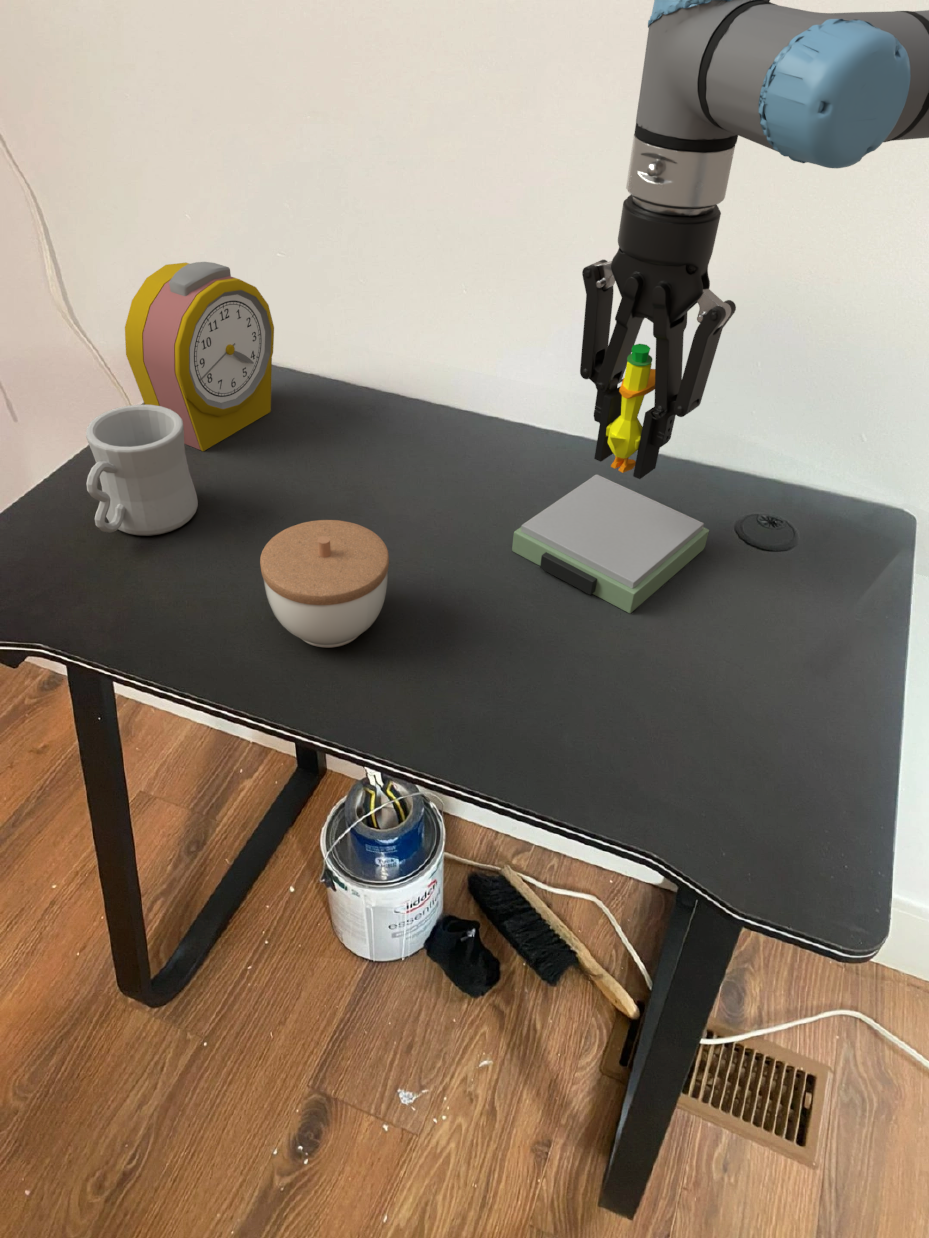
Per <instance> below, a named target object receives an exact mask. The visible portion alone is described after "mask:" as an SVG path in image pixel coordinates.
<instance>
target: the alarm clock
mask: <svg viewBox="0 0 929 1238" xmlns="http://www.w3.org/2000/svg"><path fill="white" fill-rule="evenodd" d="M269 305H270V304H269V303H268V302H267V301H266V299H265V297H264V296H263V295H262V294H261V292H260V290H258V288H257V287H256V286H255V285H253V284H251V283H248V282H246V281H244V280H242V279H240V278H237V277H234V276H232V274H231V268H230V267H229V266H226V265H223V264H219V263H216V262H212V261H211V262H210V261H196V262H191V263H189V262H179V263H169V264H165V265H163V266H161V267H160V268H158V269H157V270H156V271H155V272H153V273H151V274H150V275H148V276H147V277H146V278H145V279H144V281H143V283H142V284H141V286H140V287H139V289H138V290H137V292H136V293H135V295H134V296H133V298H132V299H131V303H130V306H129V309H128V314H127V317H126V320H125V321H126V322H125V325H124V339H125V357H126V359H127V361H128V364H129V366H130V369H131V372H132V375H133V377H134V380H135V383H136V385H137V388H138V390H139V393H140V396H141V398H142V400H143V403H144V404H143V405H155V406H162V407H165V408H168V409H170V410H172V411H174V412H175V413H177V414H178V415H179V416H180V418H181V419H182V421H183V427H184V445H186V446H189V447H192V448H194V449H195V450H196V449H197V450H199V451H201V452H205V451H206V450H208V449H210V448H211V447H213V446H215V445H216V444H218V443H220V442H222V441H223V440H225V439H227V438H228V437H230V436H232V435H234V434H236V433H238V432H239V431H240V430H242V429H244V428H246V427H247V426H249V425H251V424H253V423H254V422H256V421H257V420H259V419H261V418H263V417H264V416H266V415H268V414H270V413H271V412H272V375H273V374H272V371H273V369H272V368H273V367H272V366H273V365H272V364H273V354H274V346H275V345H274V340H275V325H274V322H273V317H272V313H271V309H270V306H269Z"/></svg>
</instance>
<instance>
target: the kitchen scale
mask: <svg viewBox="0 0 929 1238" xmlns="http://www.w3.org/2000/svg"><path fill="white" fill-rule="evenodd" d="M704 526H705V522H702V521H700V520H698V519H696V518H694V517H691V516H689V515H687V514H685V513H682V512H681V511H678V510H676V509H674V508H671V507H670V506H667V505H665V504H663V503H661V502H658V501H657V500H655V499H652V498H649V497H647V496H645V495H643V494H641V493H639V492H636V491H634V490H633V489H630V488H628V487H626V486H624V485H621V484H619V483H617V482H615V481H612V480H610V479H608V478H607V477H603V476H601V475H600V474H595V475H593V476H592V477H590V478H588V479H587V480H586V481H585V482H582V483H581V484H580V485H578V486H577V487H576V488H574V489H572V490H571V491H570V492H568V493H567V494H565V495H564V496H562V497H560V498H559V499H557V500H556V501H554V502H553V503H552V504H550V505H549V506H548V507H546V508H544V509H543V510H541V511H539V513H537V514H536V515H534V516H533V517H531V518H530V519H529V520H527V521H526V522H524V523H522V524H521V526H520V527H519V528H517V529H516V530H515V531H514V532H513V536H512V537H513V538H512V548H511V552H512V553H515V554H517V555H518V556H520V557H522V558H525V559H526V560H527V561H530V562H532V563H534V564H535V565H537V566H539V568H540V570H542V571H545V572H547V573H549V574H550V575H552V576H554V577H556V578H558V579H560V580H561V581H563V582H565V583H567V584H569V585H571V586H572V587H574V588H577V589H579V590H580V591H582V592H584V593H586V594H588V595H590V596H592V595H594V596H596V597H597V598H599V599H601V600H604V601H606V602H607V603H609V604H611V605H613V606H615V607H617V608H619V609H620V610H622V611H624V612H626V613H628V614H632V613H633V612H634V611H635V610H636V609H638V607H640V606H641V605H642V604H643V603H644V602H645V601H646V600H648V599H649V598H650V597H651V596H652V595H654V593H656V592H657V591H658V590H659V589H660V588H661V587H662V586H664V585H665V584H666V583H667V582H668V581H669V580H671V579H672V578H673V577H674V576H675V575H676V574H677V573H679V572H680V571H681V570H682V569H683V568H684V567H685V566H687V565H688V564H689V563H690V562H691V561H692V560H693V559H694V558H695V557H697V556H698V555H699V554H701V552H703V551H704V550H705V547H706V545H707V541H708V537H709V533H710V529H708V528H706V527H704Z"/></svg>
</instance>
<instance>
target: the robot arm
mask: <svg viewBox="0 0 929 1238" xmlns="http://www.w3.org/2000/svg"><path fill="white" fill-rule="evenodd" d="M647 21H648V22H647V28H648V30H647V31H648V32H647V37H646V38H647V39H646V45H645V54H644V61H643V68H642V75H641V81H640V88H639V89H640V90H639V94H638V95H639V98H638V104H637V109H636V110H637V111H636V118H635V126H634V133H633V137H632V146H631V152H630V158H629V165H628V171H627V179H626V187H625V189H626V191H627V192H628V193H629V195H628V196H627V197H626V198H625V200H623V202H622V209H621V216H620V221H619V229H618V236H617V245H618V249H617V252H616V253H615V255H614V256H613V257H612V259H611V260H609V261H608V260H606V259H600V260H598V261H595V262H594V263H591V264H589V265H587V266H585V267H583V269H582V272H581V275H582V281H583V285H584V290H585V295H586V296H585V307H584V317H583V319H584V320H583V330H582V331H583V332H582V341H581V342H582V344H581V355H580V367H579V374H580V376H581V378H582V379H584V380H590V381H591V382H592V383H593V384H594V385H595V389H596V397H595V404H594V410H593V420H594V422H596V423H598V424H599V426H598V433H597V439H596V445H595V452H594V460H596V461H598V462H600V463H601V462H603V461H604V460H606V459H607V458H609V457H611V456H612V455H614V454H613V452H612V450H611V449H610V447H609V445H608V443H607V442H608V437H609V436H606V429H607V426H608V425H609V424H610V423H613V422H614V421H615V420H616V419H617V418H618V417H619V416H621V405H622V395H621V393H620V392H619V390H620V387H621V385H620V386H619V384H620V383H622V381H623V378H624V375H625V372H626V366H627V362H628V360H627V357H628V356H629V355H630V354H632V347H633V345H636V341H637V339H638V336H639V333H640V330H641V328H642V324H643V322H644V320H645V319H647V320H648V321H649V322H651V323H652V336H653V338H655V362H654V364H655V365H654V367H655V368H654V369H655V389H654V405H653V407H651V408H649V409H648V410H646V411H645V412H644V417H643V422H642V432H641V437H640V443H639V448H638V450H637V454H636V458H635V461H636V463H635V466H634V468H633V469H634V470H633V475H632V477H633V478H636V479H639V480H642V479H643V478H644V477H646V476H647V475H648V474H650V473H651V472H652V471H654V470H655V469H656V468H657V463H658V458H659V452H660V449H661V448H662V447H664V446H665V445H666V444H668V443H669V442H670V440H671V438H672V434H673V428H674V425H675V420H676V417H678V418H683V417H685V416H686V415H688V414H690V413H691V412H692V411H694V410H695V409H697V408H698V407H700V405H701V404H702V403H701V402H702V400H703V397H704V396H703V395H704V393H705V389H706V386H707V382H708V379H709V375H710V372H711V370H712V366H713V362H714V359H715V356H716V353H717V349H718V345H719V342H720V339H721V335H722V333H723V329H724V327H725V326H726V325H727V323H728V322H729V321H730V319H731V318H732V317H733V315H734V314H735V313H736V310H737V305H736V303H735V302H734V301H733V300H731V299H727V300H724V301H723V300H722V299H721V298H720V297H719V296H717V294H715V293H714V292H713V291H712V290H711V289H710V285H711V281H710V276H709V264H710V261H711V258H712V256H713V252H714V247H715V244H716V239H717V238H716V237H717V235H718V228H719V225H720V221H721V220H720V219H721V215H722V211H721V210H720V208H719V206H718V205H719V204H721V203H722V202H723V201H724V200H725V199H726V194H727V190H728V189H727V188H728V184H729V180H730V173H731V170H732V163H733V159H734V154H735V149H736V145H737V143H738V139H739V138H738V137H741V138H743V139H746V140H748V141H751V142H753V143H756V144H758V145H761V146H762V147H765V148H768V149H770V150H773V151H775V152H777V153H779V154H780V155H781V156H783V157H786V158H787V157H788V158H789V159H790V160H791V161H793V162H797V163H800V164H806V163H808V164H812V165H817V166H820V167H823V168H828V169H843V168H848V167H851V166H854V165H856V164H857V163H859V162H861V160H862V159H863V158H864V157H865V156H866V155H868V154H869V153H872V152H875V151H876V150H877V149H879V147H881V145H882V144H884V143H888V142H894V141H907V140H919V139H929V9H928V10H927V9H926V10H915V11H913V10H893V11H853V12H817V11H809V10H804V9H799V8H795V7H790V6H784V5H778V4H776V3H773V2H771V0H654V1H653V5H652V10H651V15H650V16H649V19H648V20H647ZM615 284H616V287H617V289H618V292H619V295H620V297H621V298H620V302H619V305H618V307H617V311H616V313H615V317H614V320H615V325H614V328H613V331H612V334H611V336H610V331H611V322H612V313H613V312H612V311H613V302H614V285H615ZM697 304H698V307H699V310H698V313H697V317H696V321H697V323H699V324H698V326H697V328H696V330H695V331H694V334H693V338H692V341H691V345H690V349H689V353H688V356H687V360H686V363H685V365H684V371H683V362H684V361H683V360H684V337H685V335H684V334H685V330H686V328H687V325H688V312H689V311H690V310H692V308H693V307H695V306H696V305H697Z"/></svg>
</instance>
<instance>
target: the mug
mask: <svg viewBox="0 0 929 1238" xmlns="http://www.w3.org/2000/svg"><path fill="white" fill-rule="evenodd" d="M85 437H86V440H87V443H88V446H89V448H90V450H91V453H92V455H93V458H94V460H95V464H94V465H93V466H92V467H91V468H90V471H89V473H88V474H87V479H86V491H87V492H88V495H90V497H91V498H93V499H94V500H97V501H99V503H98V507H97V508H96V512H95V516H94V524H95V526H96V527H97V528H98V529H99V530H100V531H101V532H104V533H113V532H117V531H118V530H119V531H120V532H123V533H125V534H127V535H133V536H143V537H145V536H147V537H148V536H149V537H150V536H157V535H163V534H167V533H169V532H173V531H175V530H177V529H179V528H182V527H183V526H184V525H186V524H187V523H189V521H190V520H191V519H192V518H193V517H194V516H195V514H196V512H197V509H198V506H199V504H198V503H199V500H198V495H197V492H196V488H195V486H194V482H193V478H192V476H191V473H190V470H189V465H188V464H189V463H188V461H187V460H188V459H187V455H186V450H185V449H186V448H185V444H184V427H183V421H182V419H181V418H180V416H179V415H178V414H177V413H175V412H174V411H172V410H170V409H168V408H165V407H162V406H155V405H145V404H130V405H129V404H128V405H124V406H120V407H115V408H113V409H109V410H107V411H104V412H103V413H101V414H98V415H97V416H96V417H94V418H93V419H92V420H91V421H90V422H89V424H88V425H87V427H86V429H85ZM99 481H100V485H101V490H100V489H98V488H99V487H98V483H99ZM106 519H107V521H108V522H106Z"/></svg>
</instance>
